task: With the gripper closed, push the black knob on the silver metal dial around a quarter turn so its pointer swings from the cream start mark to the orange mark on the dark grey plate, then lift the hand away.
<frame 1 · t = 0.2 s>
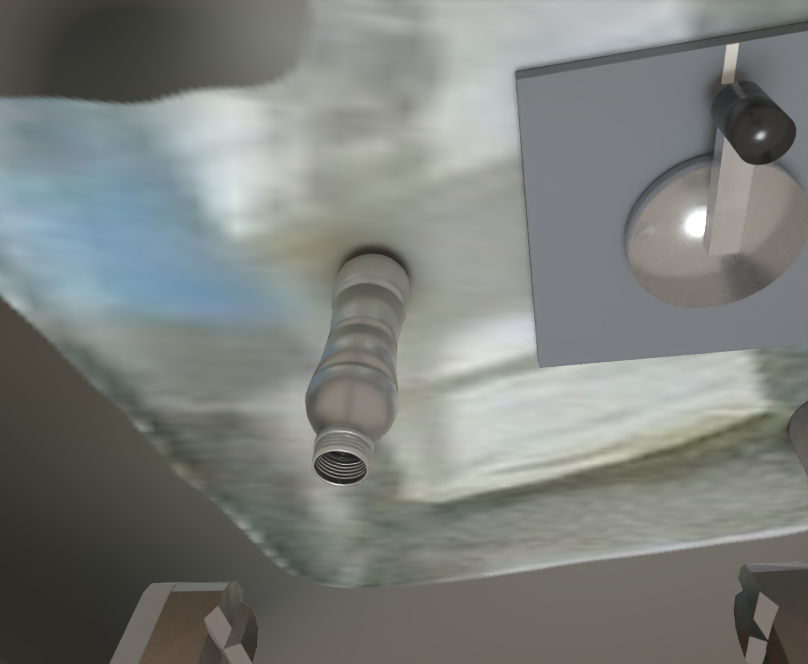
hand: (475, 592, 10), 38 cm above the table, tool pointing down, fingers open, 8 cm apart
dial: (729, 220, 42), point 5 cm above the table, hinge at 0.0°
dial plate: (702, 215, 48), on the table
plastic bottle: (375, 275, 54), on the table
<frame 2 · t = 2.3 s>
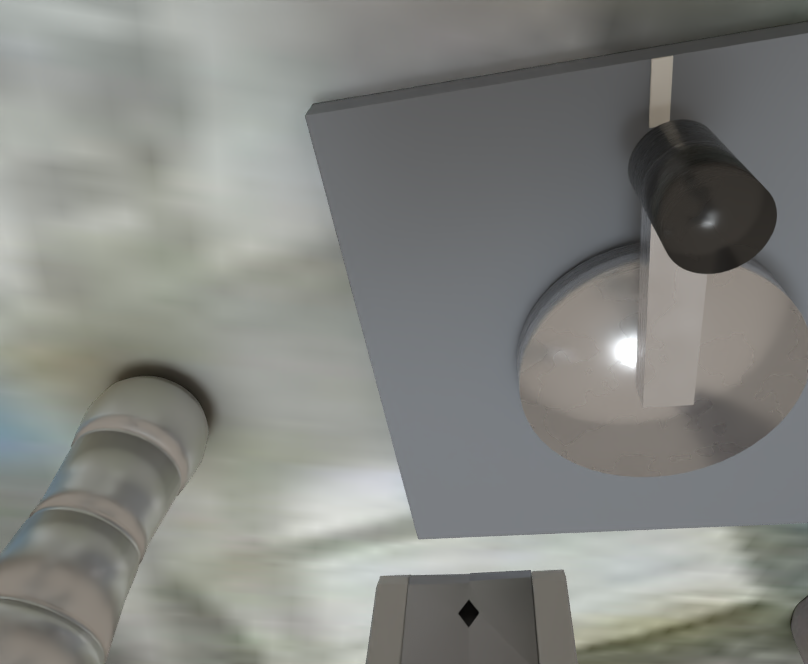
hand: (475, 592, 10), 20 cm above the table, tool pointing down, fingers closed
dial: (672, 354, 25), point 5 cm above the table, hinge at 0.0°
dial plate: (640, 333, 31), on the table
plastic bottle: (164, 403, 36), on the table
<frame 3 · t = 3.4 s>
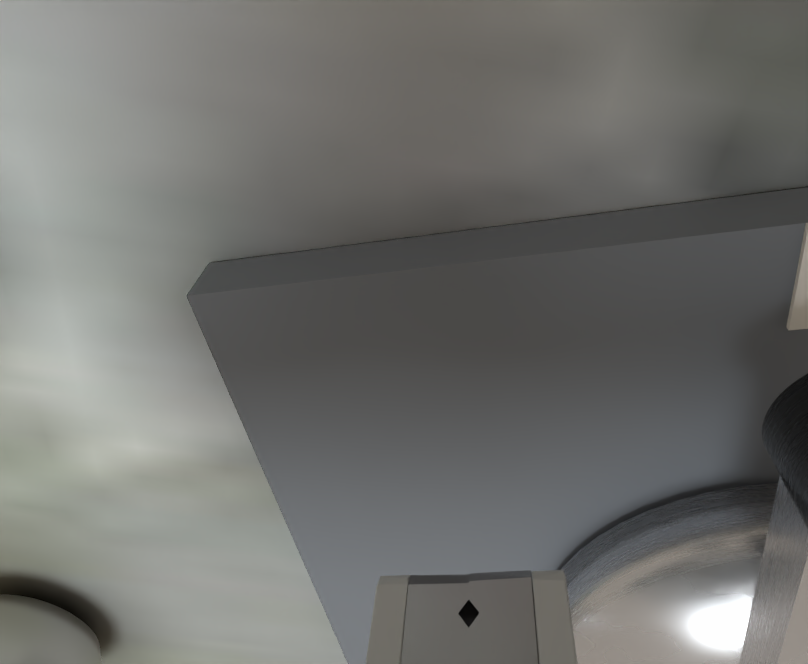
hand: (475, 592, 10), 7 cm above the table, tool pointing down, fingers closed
dial plate: (728, 569, 20), on the table
plastic bottle: (46, 615, 26), on the table
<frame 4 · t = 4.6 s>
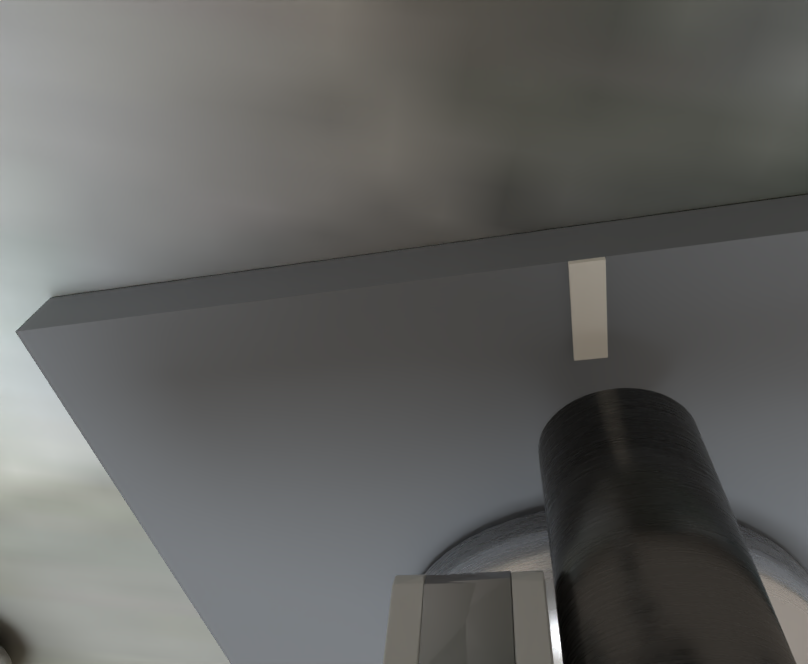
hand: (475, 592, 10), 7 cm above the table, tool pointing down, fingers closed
dial plate: (594, 584, 21), on the table
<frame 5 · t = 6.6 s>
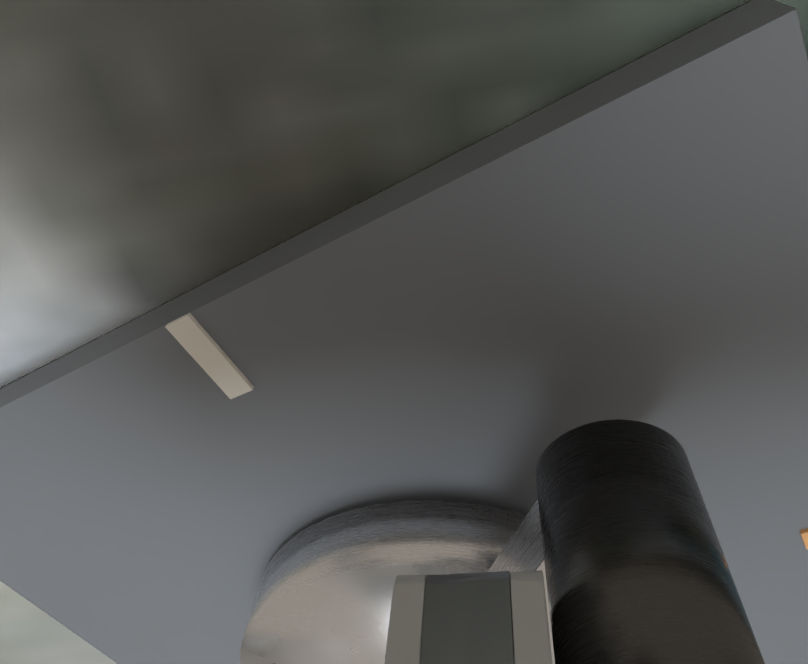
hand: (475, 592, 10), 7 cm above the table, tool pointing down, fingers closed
dial plate: (446, 578, 22), on the table
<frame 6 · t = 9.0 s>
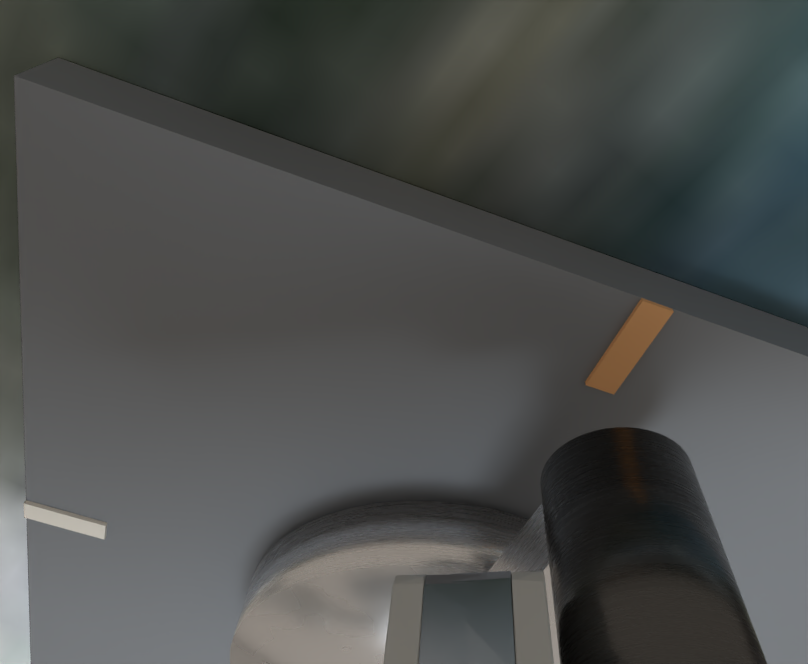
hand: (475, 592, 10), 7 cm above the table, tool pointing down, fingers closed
dial plate: (437, 579, 22), on the table
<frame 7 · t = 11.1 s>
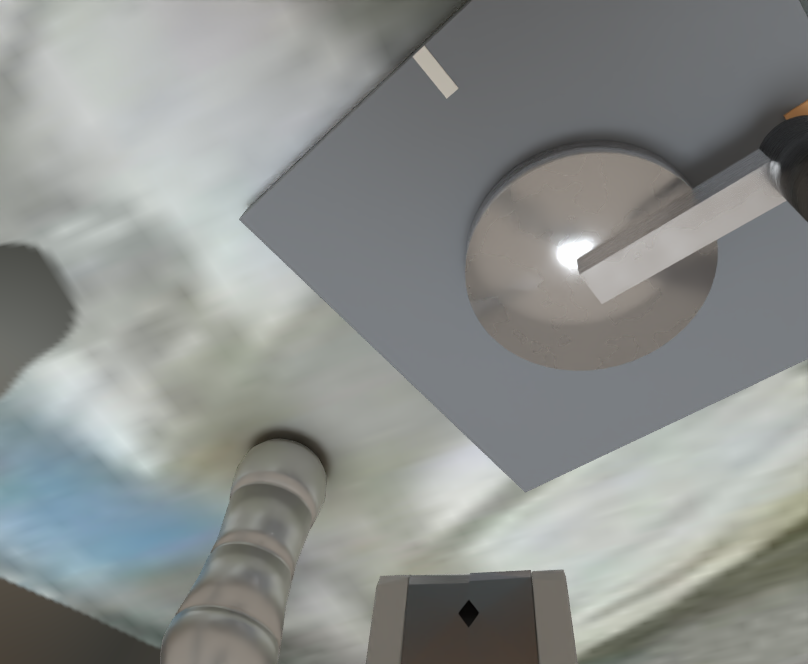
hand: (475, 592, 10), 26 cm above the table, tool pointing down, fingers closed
dial: (644, 258, 29), point 5 cm above the table, hinge at 91.8°
dial plate: (578, 241, 34), on the table
plastic bottle: (290, 458, 47), on the table
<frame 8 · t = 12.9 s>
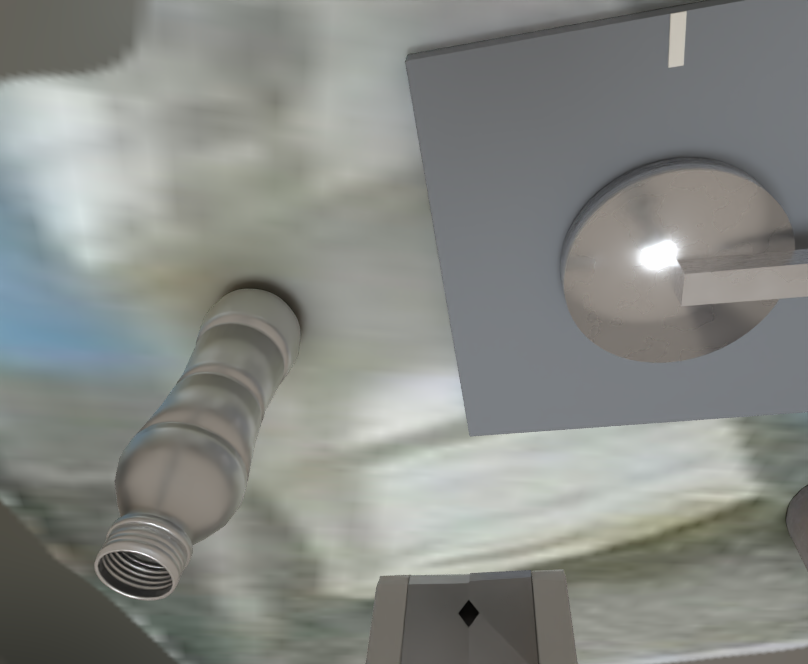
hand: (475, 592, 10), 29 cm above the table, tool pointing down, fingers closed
dial: (738, 285, 33), point 5 cm above the table, hinge at 91.8°
dial plate: (659, 245, 38), on the table
plastic bottle: (261, 316, 44), on the table
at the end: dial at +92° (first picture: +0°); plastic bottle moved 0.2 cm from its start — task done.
